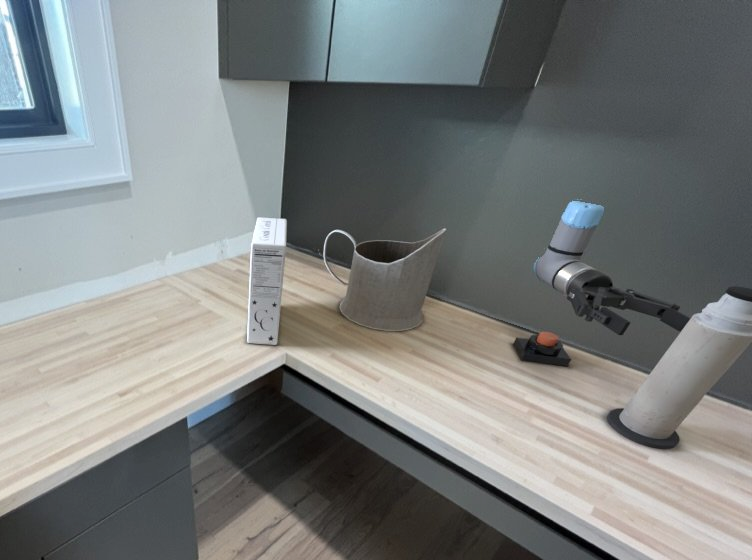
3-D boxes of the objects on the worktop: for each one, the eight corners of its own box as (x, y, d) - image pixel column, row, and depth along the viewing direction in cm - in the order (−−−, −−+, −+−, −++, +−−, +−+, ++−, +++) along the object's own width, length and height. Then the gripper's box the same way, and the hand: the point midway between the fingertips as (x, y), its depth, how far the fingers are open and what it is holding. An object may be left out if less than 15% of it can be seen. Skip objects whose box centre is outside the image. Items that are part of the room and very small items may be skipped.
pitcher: (408, 339, 108) (438, 242, 94) (300, 307, 122) (311, 218, 108) (431, 308, 124) (459, 221, 109) (333, 282, 138) (346, 202, 123)
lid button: (551, 340, 103) (555, 332, 102) (557, 348, 100) (561, 340, 98) (533, 337, 104) (537, 330, 102) (539, 345, 100) (542, 338, 99)
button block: (555, 350, 106) (563, 336, 104) (567, 367, 100) (575, 352, 97) (512, 344, 108) (519, 330, 105) (521, 360, 102) (528, 346, 99)
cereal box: (253, 306, 122) (257, 217, 107) (278, 307, 122) (286, 218, 107) (246, 343, 105) (251, 243, 90) (277, 345, 104) (286, 245, 90)
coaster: (657, 416, 85) (660, 413, 85) (690, 453, 77) (693, 450, 76) (597, 407, 87) (599, 404, 87) (622, 442, 79) (624, 439, 78)
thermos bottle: (659, 417, 84) (766, 285, 67) (678, 443, 78) (801, 305, 61) (612, 408, 86) (706, 278, 69) (627, 433, 80) (734, 297, 63)
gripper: (626, 300, 98) (709, 347, 81) (523, 298, 98) (585, 345, 81) (645, 270, 94) (737, 312, 77) (537, 267, 93) (606, 310, 76)
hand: (659, 329), depth 79 cm, fingers open, 13 cm apart
